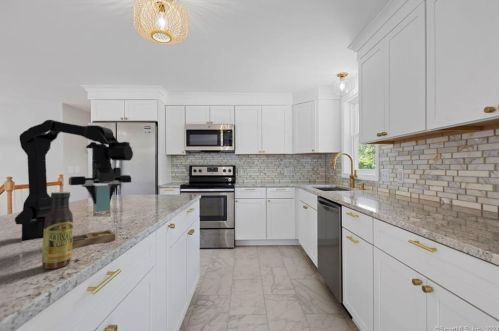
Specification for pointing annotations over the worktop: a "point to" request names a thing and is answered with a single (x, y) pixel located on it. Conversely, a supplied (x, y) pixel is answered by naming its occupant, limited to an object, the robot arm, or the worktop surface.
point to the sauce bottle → (58, 233)
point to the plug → (102, 198)
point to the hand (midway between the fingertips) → (101, 203)
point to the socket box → (92, 238)
